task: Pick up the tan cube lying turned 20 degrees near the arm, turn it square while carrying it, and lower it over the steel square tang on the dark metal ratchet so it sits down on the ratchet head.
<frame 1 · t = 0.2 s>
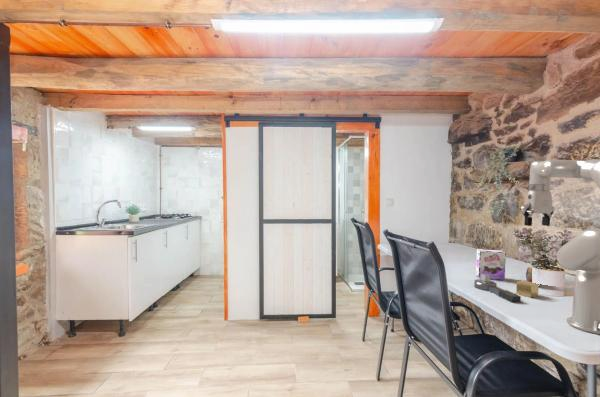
hand: (536, 225, 138), 36 cm above the table, tool pointing down, fingers open, 9 cm apart
candy box: (489, 278, 177), on the table
ratchet: (485, 287, 159), on the table
tin: (533, 284, 167), on the table
tan cube: (527, 294, 149), on the table
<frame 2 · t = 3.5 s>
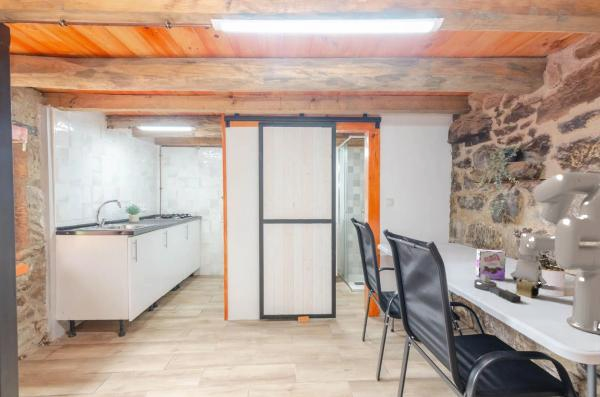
hand: (527, 293, 149), 1 cm above the table, tool pointing down, fingers closed on tan cube, 6 cm apart
tan cube: (526, 294, 149), on the table, touching gripper
everything else where it was.
when the fingers open (5 cm above the table, at t = 8.3 s): tan cube stays where it is, resting on ratchet.
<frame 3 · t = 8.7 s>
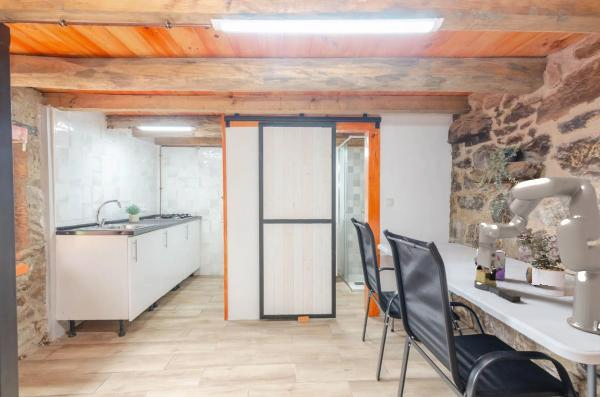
hand: (485, 277, 158), 5 cm above the table, tool pointing down, fingers open, 9 cm apart
tan cube: (485, 282, 158), point 3 cm above the table, touching ratchet
everything else where it was.
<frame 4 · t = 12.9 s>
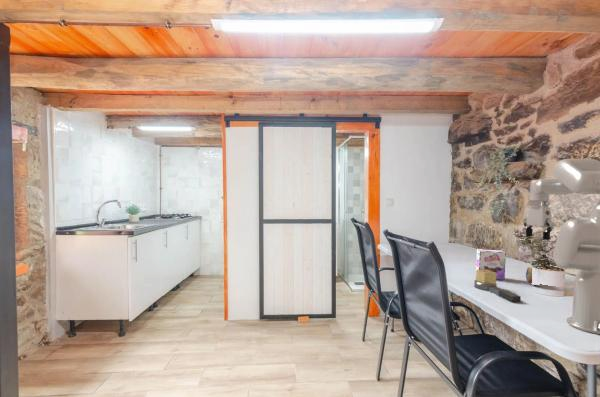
hand: (537, 238, 151), 28 cm above the table, tool pointing down, fingers open, 9 cm apart
nothing on the table moved.
at the end: tan cube 0.1 cm off-centre on the ratchet, point 3.0 cm above the ratchet's base; tan cube tilted 0°; the gripper is holding nothing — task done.
